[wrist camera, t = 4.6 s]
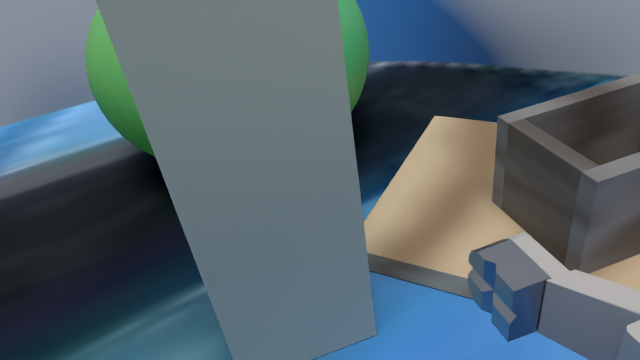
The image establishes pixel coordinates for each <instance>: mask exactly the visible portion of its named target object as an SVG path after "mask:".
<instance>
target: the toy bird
mask: <svg viewBox="0 0 640 360" xmlns="http://www.w3.org/2000/svg"><path fill="white" fill-rule="evenodd" d="M338 8H339V16H340V25H341V33H342V42H343V50H344V59H345V68H346V76H347V85H348V93H349V102H350V110H351V112H352V110H353V109H354V107H355V105H356V103H357V101H358V99H359V97H360V95H361V92H362V89H363V86H364V83H365V79H366V75H367V69H368V60H369V47H368V46H369V45H368V36H367V31H366V26H365V22H364V19H363V16H362V14H361V11H360V9H359V7H358V5H357V3H356V1H355V0H338ZM86 69H87V76H88V80H89V84H90V88H91V90H92V93H93V96H94V98H95V100H96V102H97V104H98V106H99V108H100V109H101V111H102V113H103V114H104V115H105V117H106V118H107V120H108V121H109V122H110V123H111V125H112V126H113V127H114V128H115V129H116V130H117V131H118V132H119V133H120V134H121V135H122V136H123V137H124V138H126V139H127V140H128V141H129V142H131V143H132V144H133V145H135V146H136V147H138V148H139V149H141V150H143V151H144V152H146V153H148V154H150V155H152V156H154V157H155V154H154V152H153V149H152V147H151V144H150V141H149V139H148V136H147V134H146V131H145V128H144V126H143V123H142V121H141V118H140V115H139V113H138V110H137V108H136V105H135V102H134V100H133V97H132V94H131V92H130V89H129V87H128V84H127V81H126V79H125V76H124V74H123V71H122V68H121V66H120V63H119V61H118V58H117V55H116V53H115V50H114V48H113V45H112V42H111V40H110V37H109V34H108V32H107V29H106V27H105V24H104V21H103V19H102V16H101V14H100V11H99V8H98V9H97V11H96V13H95V15H94V18H93V20H92V23H91V26H90V29H89V33H88V38H87V45H86Z"/></svg>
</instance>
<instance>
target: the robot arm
mask: <svg viewBox="0 0 640 360" xmlns="http://www.w3.org/2000/svg"><path fill="white" fill-rule="evenodd" d="M469 263H470V265H471V266H472V267H473V268H472V270H471V271H470V273H469V274H468V286H469V289H470V293H471V295H472V297H473V299H474V300H475V302H476V303H477V305H478V306H479V307H480V309H482V310H484V311H486V312H489V313H491V314H492V323H493V325H494V326H495V327H496V328H497V329H498V331H499V332H500V333H501V334H502V336H503V337H504V338H505V339H506V340H507V342H509V341H512V340H514V339H517V338H520V337H523V336H525V335H528V334H531V333H533V332H536V331H538V333H539V334H541V335H543V336H545V337H547V338H549V339H551V340H553V341H555V342H557V343H558V344H560V345H562V346H564V347H566V348H568V349H570V350H572V351H574V352H576V353H578V354H579V355H581V356H583V357H585V358H587V359H589V360H640V290H636V289H633V288H630V287H627V286H624V285H621V284H618V283H615V282H612V281H609V280H606V279H603V278H600V277H597V276H594V275H590V274H587V273H584V272H581V271H578V270H572V271H569V270H568V269H567V268H566V267H565V266H564V265H562V264H561V263H560V262H559V261H558V260H557V259H556V258H555V257H554V256H552V255H551V254H550V253H549V252H548V251H547V250H546V249H545V248H543V247H542V246H541V245H540V244H539V243H538V242H537V241H536V240H534V239H533V238H532V237H531V236H530V235H529V234H527V233H525V232H522V233H519V234H516V235H514V236H511V237H508V238H506V239H502V240H499V241H496V242H494V243H491V244H488V245H486V246H483V247H480V248H477V249H475V250H472V251H471V252H470V254H469Z"/></svg>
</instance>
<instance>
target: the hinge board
mask: <svg viewBox="0 0 640 360" xmlns="http://www.w3.org/2000/svg"><path fill="white" fill-rule="evenodd" d="M364 230H365V239H366V247H367V256H368V264H369V271H373V272H377V273H380V274H384V275H388V276H391V277H395V278H399V279H402V280H406V281H410V282H413V283H417V284H421V285H424V286H428V287H432V288H435V289H439V290H443V291H446V292H450V293H454V294H457V295H461V296H465V297H468V298H472V299H473V297H472V295H471V293H470V289H469V286H468V274H469V273H470V271H471V270H472V268H473V267H472V266H471V265H470V263H469V254H470V252H471V251H472V250H475V249H477V248H480V247H483V246H486V245H488V244H491V243H494V242H496V241H499V240H502V239H506V238H508V237H511V236H514V235H516V234H519V233H522V232H525V233H527V234H529V235H530V236H531V237H532V238H533V239H534V240H536V241H537V242H538V243H539V244H540V245H541V246H542V247H543V248H545V249H546V250H547V251H548V252H549V253H550V254H551V255H552V256H554V257H555V258H556V259H557V260H558V261H559V262H560V263H561V264H562V265H564V266H565V267H566V268H567V269H568V270H569V271H572V270H578V271H581V272H584V273H587V274H590V275H594V276H597V277H600V278H603V279H606V280H609V281H612V282H615V283H618V284H621V285H624V286H627V287H630V288H633V289H636V290H640V73H638V74H635V75H631V76H628V77H625V78H621V79H618V80H615V81H612V82H608V83H605V84H602V85H599V86H595V87H592V88H589V89H585V90H582V91H579V92H576V93H572V94H569V95H566V96H563V97H559V98H556V99H553V100H549V101H546V102H543V103H540V104H536V105H533V106H530V107H527V108H523V109H520V110H517V111H514V112H510V113H507V114H504V115H500V116H498V121H497V123H495V122H486V121H477V120H468V119H459V118H450V117H441V116H434V118H433V119H432V121H431V122H430V124H429V125H428V127H427V128H426V130H425V131H424V133H423V134H422V136H421V137H420V139H419V140H418V142H417V143H416V145H415V146H414V148H413V149H412V151H411V152H410V154H409V155H408V157H407V158H406V160H405V161H404V163H403V164H402V166H401V167H400V169H399V170H398V172H397V173H396V175H395V176H394V178H393V179H392V181H391V182H390V184H389V185H388V187H387V188H386V190H385V191H384V193H383V194H382V196H381V197H380V199H379V200H378V202H377V203H376V205H375V206H374V208H373V209H372V211H371V212H370V214H369V215H368V217H367V218H366V220H365V221H364Z"/></svg>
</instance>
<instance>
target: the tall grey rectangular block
mask: <svg viewBox="0 0 640 360" xmlns="http://www.w3.org/2000/svg"><path fill="white" fill-rule="evenodd" d="M96 3H97V6H98V8H99V11H100V14H101V16H102V19H103V21H104V24H105V27H106V29H107V32H108V34H109V37H110V40H111V42H112V45H113V48H114V50H115V53H116V55H117V58H118V61H119V63H120V66H121V68H122V71H123V74H124V76H125V79H126V81H127V84H128V87H129V89H130V92H131V94H132V97H133V100H134V102H135V105H136V108H137V110H138V113H139V115H140V118H141V121H142V123H143V126H144V128H145V131H146V134H147V136H148V139H149V141H150V144H151V147H152V149H153V152H154V154H155V157H156V160H157V162H158V165H159V168H160V170H161V173H162V175H163V178H164V181H165V183H166V186H167V188H168V191H169V194H170V196H171V199H172V201H173V204H174V207H175V209H176V212H177V214H178V217H179V220H180V222H181V225H182V227H183V230H184V233H185V235H186V238H187V241H188V243H189V246H190V248H191V251H192V254H193V256H194V259H195V261H196V264H197V267H198V269H199V272H200V274H201V277H202V280H203V282H204V285H205V287H206V290H207V293H208V295H209V298H210V301H211V303H212V306H213V308H214V311H215V314H216V316H217V319H218V321H219V324H220V327H221V329H222V332H223V334H224V337H225V340H226V342H227V345H228V347H229V350H230V353H231V355H232V358H233V360H312V359H315V358H318V357H320V356H323V355H326V354H328V353H331V352H333V351H336V350H339V349H341V348H344V347H346V346H349V345H352V344H354V343H357V342H360V341H362V340H365V339H367V338H370V337H373V336H375V335H377V333H376V324H375V316H374V307H373V299H372V290H371V282H370V273H369V264H368V256H367V247H366V239H365V230H364V222H363V213H362V205H361V196H360V187H359V179H358V170H357V162H356V153H355V145H354V136H353V127H352V119H351V110H350V102H349V93H348V85H347V76H346V68H345V59H344V50H343V42H342V33H341V25H340V16H339V8H338V0H96Z"/></svg>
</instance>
